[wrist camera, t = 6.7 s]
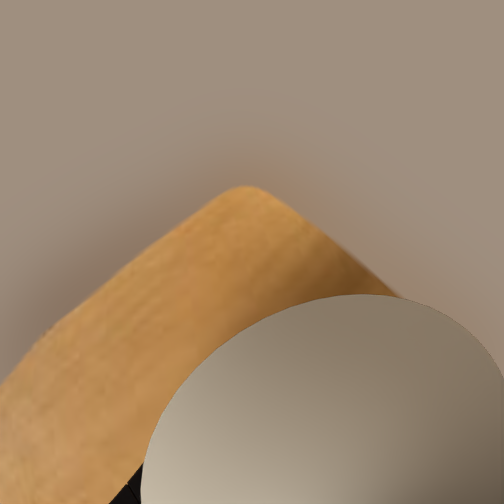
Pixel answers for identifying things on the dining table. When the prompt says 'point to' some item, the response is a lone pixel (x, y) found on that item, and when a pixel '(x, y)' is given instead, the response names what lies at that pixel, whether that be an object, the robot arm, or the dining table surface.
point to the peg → (336, 413)
